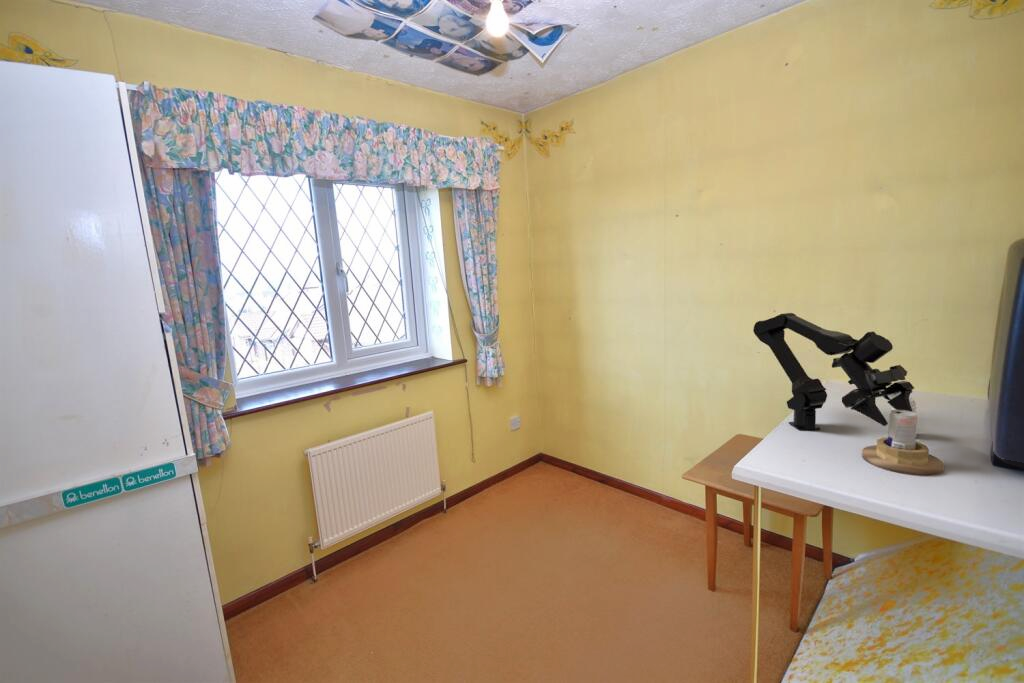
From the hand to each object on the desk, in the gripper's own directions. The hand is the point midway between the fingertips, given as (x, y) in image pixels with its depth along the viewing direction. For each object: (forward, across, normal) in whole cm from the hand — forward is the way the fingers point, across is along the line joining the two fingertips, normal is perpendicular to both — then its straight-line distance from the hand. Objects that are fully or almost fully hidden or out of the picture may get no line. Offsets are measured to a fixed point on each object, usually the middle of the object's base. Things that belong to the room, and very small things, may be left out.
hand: (899, 422), depth 114 cm
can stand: (+8, 0, +7) cm, 10 cm away
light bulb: (0, +18, +15) cm, 23 cm away
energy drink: (+7, 0, +6) cm, 9 cm away
